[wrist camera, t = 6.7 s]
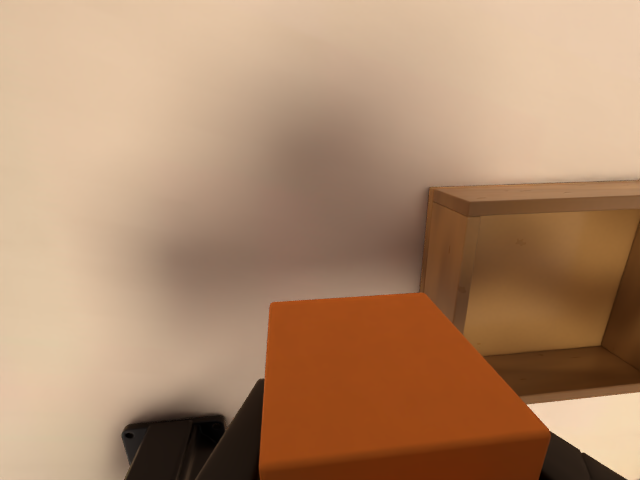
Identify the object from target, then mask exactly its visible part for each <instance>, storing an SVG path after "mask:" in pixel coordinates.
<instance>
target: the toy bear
mask: <svg viewBox="0 0 640 480" xmlns="http://www.w3.org/2000/svg"><path fill="white" fill-rule="evenodd" d="M550 438H551V433H550V431H549V429H548V428H547V427H546V426H545V425H544V424H543V422H542V421H541V420H540V419H539V418H538V417H537V416H536V415H535V414H534V413H533V411H532V410H531V409H530V408H529V407H528V406H527V405H526V404H525V403H524V402H523V400H522V399H521V398H520V397H519V396H518V395H517V394H516V393H515V392H514V391H513V389H512V388H511V387H510V386H509V385H508V384H507V383H506V382H505V381H504V380H503V378H502V377H501V376H500V375H499V374H498V373H497V372H496V371H495V370H494V369H493V367H492V366H491V365H490V364H489V363H488V362H487V361H486V360H485V359H484V358H483V356H482V355H481V354H480V353H479V352H478V351H477V350H476V349H475V348H474V347H473V345H472V344H471V343H470V342H469V341H468V340H467V339H466V338H465V337H464V336H463V334H462V333H461V332H460V331H459V330H458V329H457V328H456V327H455V326H454V325H453V324H452V322H451V321H450V320H449V319H448V318H447V317H446V316H445V315H444V314H443V313H442V311H441V310H440V309H439V308H438V307H437V306H436V305H435V304H434V303H433V302H432V300H431V299H430V298H429V297H428V296H427V295H426V294H425V293H422V292H421V293H406V294H391V295H375V296H360V297H345V298H329V299H314V300H299V301H283V302H272V303H271V304H270V308H269V323H268V337H267V352H266V367H265V381H264V396H263V411H262V425H261V440H260V455H259V475H260V480H539V476H540V473H541V470H542V466H543V463H544V459H545V456H546V452H547V449H548V445H549V442H550Z"/></svg>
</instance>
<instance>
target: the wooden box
mask: <svg viewBox="0 0 640 480" xmlns="http://www.w3.org/2000/svg"><path fill="white" fill-rule="evenodd" d="M421 292H422V293H425V294H426V295H427V296H428V297H429V298H430V299H431V300H432V302H433V303H434V304H435V305H436V306H437V307H438V308H439V309H440V310H441V311H442V313H443V314H444V315H445V316H446V317H447V318H448V319H449V320H450V321H451V322H452V324H453V325H454V326H455V327H456V328H457V329H458V330H459V331H460V332H461V333H462V334H463V336H464V337H465V338H466V339H467V340H468V341H469V342H470V343H471V344H472V345H473V347H474V348H475V349H476V350H477V351H478V352H479V353H480V354H481V355H482V356H483V358H484V359H485V360H486V361H487V362H488V363H489V364H490V365H491V366H492V367H493V369H494V370H495V371H496V372H497V373H498V374H499V375H500V376H501V377H502V378H503V380H504V381H505V382H506V383H507V384H508V385H509V386H510V387H511V388H512V389H513V391H514V392H515V393H516V394H517V395H518V396H519V397H520V398H521V399H522V400H523V402H524V403H525V404H535V403H544V402H554V401H563V400H572V399H581V398H590V397H599V396H608V395H617V394H626V393H636V392H640V180H633V181H603V182H573V183H543V184H513V185H483V186H453V187H430V189H429V199H428V210H427V220H426V231H425V241H424V251H423V262H422V272H421V283H420V293H421Z"/></svg>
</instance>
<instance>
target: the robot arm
mask: <svg viewBox="0 0 640 480" xmlns="http://www.w3.org/2000/svg"><path fill="white" fill-rule="evenodd" d="M264 381H265V379H259V380H258V381H257V383H256V384H255V386H254V387H253V389H252V390H251V392H250V394H249V395H248V397H247V398H246V400H245V402H244V403H243V405H242V406H241V408H240V409H239V411H238V413H237V414H236V416H235V417H234V419H233V420H232V422H231V424H230V425H229V427H228V428H227V429H226V422H225V419H224V418H223V417H222V416H208V417H199V418H189V419H179V420H170V421H160V422H150V423H140V424H131V425H128V426H126V427H125V429H124V431H123V433H122V440H123V443H124V447H125V450H126V454H127V457H128V461H129V464H130V468H129V470H128V472H127V474H126V476H125V479H124V480H260V475H259V455H260V440H261V425H262V411H263V396H264ZM216 423H217V424H216ZM550 433H551V438H550V442H549V445H548V449H547V452H546V456H545V459H544V463H543V466H542V470H541V473H540V476H539V480H627V479H625V478H624V477H622V476H621V475H619V474H617V473H616V472H614V471H612V470H611V469H609V468H608V467H606V466H604V465H603V464H601V463H600V462H598V461H596V460H595V459H593V458H592V457H590V456H588V455H587V454H585V453H581V452H580V450H579V449H577V448H576V447H574V446H573V445H571V444H569V443H568V442H566V441H565V440H563V439H562V438H560V437H558V436H557V435H555V434H554V433H552V432H551V431H550Z"/></svg>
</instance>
